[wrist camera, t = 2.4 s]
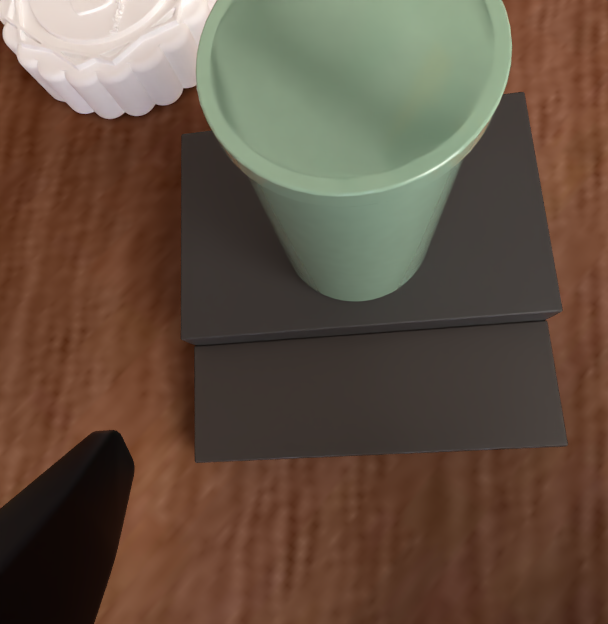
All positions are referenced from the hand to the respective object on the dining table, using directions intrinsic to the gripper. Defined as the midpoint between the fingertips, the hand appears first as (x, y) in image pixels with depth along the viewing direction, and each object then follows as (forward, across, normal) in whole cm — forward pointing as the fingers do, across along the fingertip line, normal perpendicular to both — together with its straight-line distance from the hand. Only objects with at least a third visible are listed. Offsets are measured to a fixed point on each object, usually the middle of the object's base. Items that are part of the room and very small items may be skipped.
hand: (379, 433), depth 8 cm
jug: (+13, 0, +1) cm, 13 cm away
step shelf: (+14, 0, +5) cm, 15 cm away
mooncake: (+26, +12, -6) cm, 29 cm away
